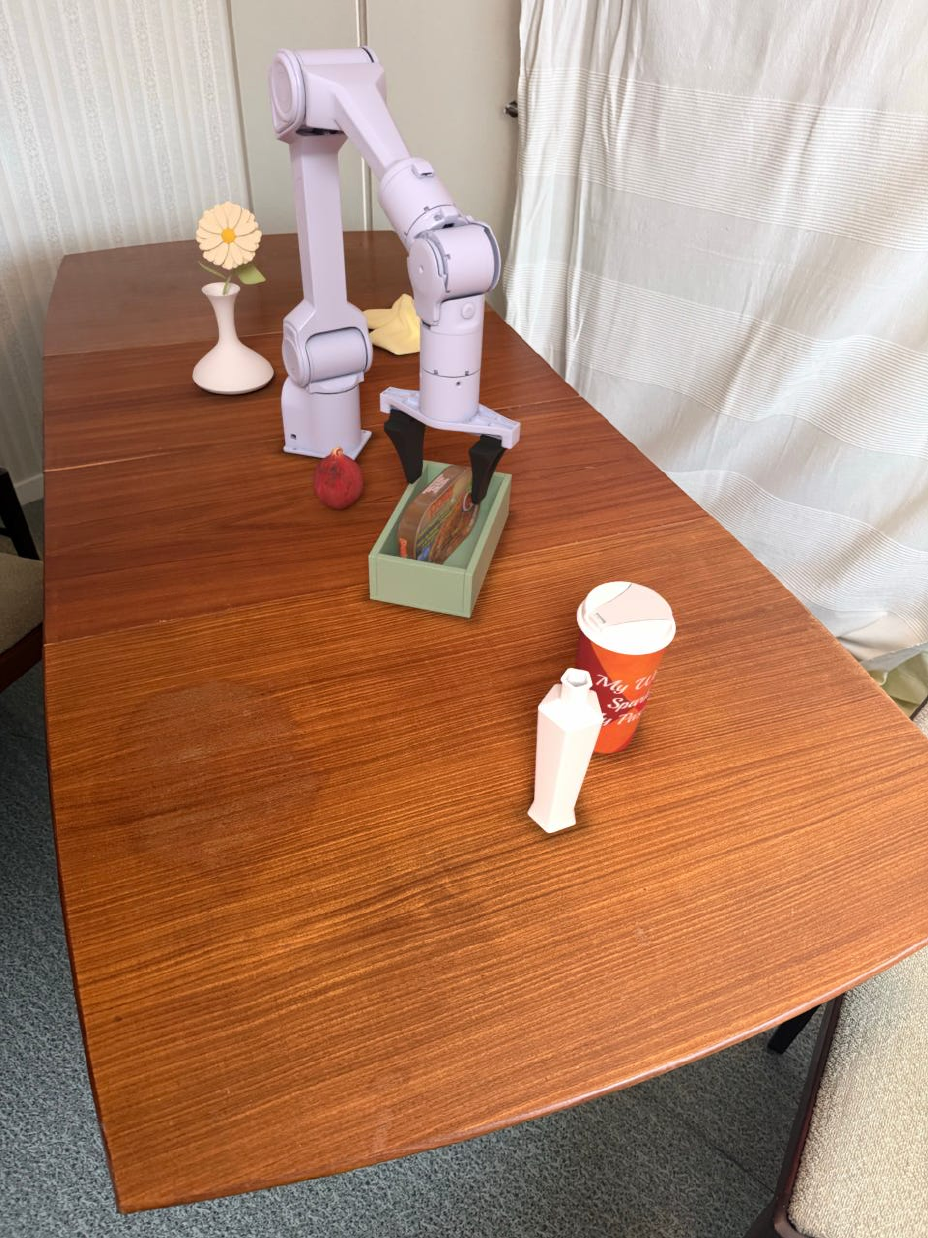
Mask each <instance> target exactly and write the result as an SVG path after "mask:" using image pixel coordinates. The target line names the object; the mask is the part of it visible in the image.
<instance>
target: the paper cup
mask: <svg viewBox="0 0 928 1238" xmlns="http://www.w3.org/2000/svg"><path fill="white" fill-rule="evenodd" d="M576 621H577V625H578V627H579V629H578V636H577V637H578V638H577V647H576V657H575V666H574V669H578V670H584V671H587V672H589V674H590V677H591V681H592V686H591V687H590V688H589V690H593V691H595V692H596V694H597V698H598V701H599V705H600V708H601V712H602V715H603V723H602V726H601V729H600V732H599V735H598V738H597V741H596V744H595V747H594V750H593V752H595V753H597V754H598V753H599V754H613V753H615V754H616V753H618V752H620V751H623V750H624V749H626V748H627V747H628V746H629V745H630V743H631V742H632V741H633V738H634V736H635V733H636V731H637V728H638V726H639V723H640V720H641V717H642V715H643V712H644V710H645V707H646V703H647V701H648V698H649V695H650V693H651V690H652V687H653V684H654V681H655V679H656V676H657V673H658V670H659V667H660V665H661V662H662V659H663V656H664V653H665V652H666V649H667V646H668V645H669V644H670V643H672V641H673V639H674V637H675V634H676V628H677V627H676V621H675V619H674V616H673V611H672V607H671V606H670V604H669V603H668V601H667V600H666V599H665V598H664V597H663V596H662V595H660V594H659V593H658V592H657V591H655V590H654V589H652V588H649V587H648V586H645V585H641V584H638V583H635V582H630V581H611V582H606V583H602V584H600V585H598V586H596V587H594V588H593V589H592V590H591V591H589V593H588V594H587V595H586V597H585V598H584V600H582V602H581V603H580V604H579V606H578V608H577V611H576Z"/></svg>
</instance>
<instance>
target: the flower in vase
mask: <svg viewBox="0 0 928 1238" xmlns="http://www.w3.org/2000/svg"><path fill="white" fill-rule="evenodd" d="M202 215H203V216H202V218H200V219H199V221H198V229H196V231H195V234H196V236H195V240H196V242H198V243H199V246H198V247H199V250H200V251H203V253H202V257H203V258H204V260H206V261H208V262H209V263H213V264H214V265H215V266H221V267H222V268H223V269H226V270H229V271H230V270H231V272H230V274H229V276H228V277H225V276H224V275H223V274H222V273H220V272H219V271H217V270H216V269H213V268H211V267H209V266H206V265H204V264H202V263H201V262H200V261H199V260H197V261H198V264H199V265H200V266H201V267H202V268H203V269H204V270H207V271H208V272H210V273H212V274H214V275H216V276H218V277H221V278H223V279H224V280H226V281H218V282H211V283H208V284H205V285H203V287H202V288H201V292H202V293H203V294H204V295H205V296H206V297H207V298H208V300H209V302H210V304H211V305H212V309H213V310H214V315H215V318H216V323H217V327H218V340H217V343H216V345H215V346H214V347H213V348H212V349H211V350H209V352H207V353H206V354H205V355H204V356H203V357H202V358H201V359H199V361H198V362H197V363H196V364H195V366H194V368H193V371H192V377H191V378H192V380H193V381H194V383H196V385H197V386H198V387H199V388H201V389H202V390H204V391H207V392H210V393H212V394H213V393H214V394H220V395H242V394H246V393H251V392H254V391H257V390H259V389H262V388H264V387H265V386H267V385H268V384H269V383H270V382H271V380H272V378H273V376H274V373H275V372H274V368H273V367H272V365H271V363H270V361H268V359H266V358H265V357H263V356H262V354H259V353H258V352H256V351H255V350H253V349H251V348H249V347H248V346H246V345H245V344H243V343H242V342H241V341H240V339H239V338H238V335H237V331H236V326H235V311H234V310H235V302H236V298H237V296H238V295H239V292H240V291H241V287H240V286H239V285H238V284H236V283H233V282H231V280H232V278H233V276H234V274H236V275H237V277H238V278H239V280H240V281H241V282H242V283H243V284H244V285H254V284H258V283H262V282H265V281H266V278H265V277H264V276H263V274H262V273H261V272H260V271H259V270H258V268H257V267H256V266H254V264H252V263H249V262H251V261H253V259H254V257H256V252H255V251H256V250H257V249H259V247H260V242H261V238H262V236H263V235H262V231H261V230H260V229H259V230H258V228H259V223H258V222H257V221H255V220H256V216H255V214H254V213H253V212H251V211H250V210H249V209H245V208H244V207H242V206H240V205H239V204H235V203H232V202H230V201H225V202H224V203H222V204H218V203H217V204H215V205H214V206H213V208H210V209H209V210H208V209H206V210H204V211H203V213H202Z"/></svg>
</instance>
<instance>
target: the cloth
mask: <svg viewBox="0 0 928 1238" xmlns="http://www.w3.org/2000/svg"><path fill="white" fill-rule="evenodd" d="M362 313H363V314H364V315H365V317H366V318H367V325H368V330H372V331H370V332H369V336H370V339H371V342H372V346H375V347H377V348H380V349H383V350H386V351H388V352H390V353H393V354H394V355H397V356H403V355H408V354H414V353H420V317H418V316H417V315H416V310H415V308H414V298H413V296H411V295H409V294H407V293H402V294H401V296H400V297H399V298H398V299H397V300H395V301H394V303H393V304H392V306H391V308H371V309H366V310H364V311H362Z"/></svg>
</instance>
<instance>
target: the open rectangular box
mask: <svg viewBox="0 0 928 1238" xmlns="http://www.w3.org/2000/svg"><path fill="white" fill-rule="evenodd" d="M451 465H452V464H450V463H444V462H438V461H432V460H426V459H423V470H422V476H421V477H420V478H419V479H418V480H416V481H415V482H414V483H413V484H410V483H408V485H407V487H406V489H405V491H404V493H403V495H402V496H401V498H400V500H399V501H398V503H397V505H396V506H395V508H394V511H393V512H392V514H391V515H390V518H389V519H388V521H387V523H386V524H385V526H384V528H383V530H382V531H381V533H380V535H379V537H378V538H377V540H376V542H375V543H374V545H373V547H372V549H371V550H370V552H369V554H368V557H367V559H368V578H369V579H368V583H369V599H370V600H375V601H378V602H384V603H390V604H395V605H399V606H405V607H410V608H415V609H420V610H425V611H432V612H435V613H442V614H447V615H450V616H457V617H461V618H466V619H467V618H468V619H470V618H471V616H472V613H473V611H474V607H475V605H476V603H477V600H478V598H479V594H480V592H481V589H482V586H483V584H484V581H485V578H486V576H487V574H488V570H489V568H490V565H491V562H492V560H493V557H494V554H495V552H496V550H497V546H498V543H499V541H500V538H501V536H502V532H503V530H504V528H505V525H506V522H507V520H508V517H509V515H510V514H509V513H510V512H509V511H510V501H511V491H512V480H513V479H512V478H513V474H510V473H505V472H499V471H494V473H493V476H492V478H491V481H490V484H489V487H488V491H487V495H486V497H485V498H484V499H483V500H482V501H481V505H480V510H479V514H478V517H477V520H476V522H475V525H474V527H473V529H472V530H471V532H470V534H469V535H468V536H467V537H466V539H465V540H464V541H463V542H462V543H461V544H460V545H459V546H458V547H457V548H456V549H455V551H454V552H453V553H452V554H451V555H450V556H449V557H448V558H447V559H446V561H445V562H444V563H443V564H442V565H440V564H434V563H429V562H423V561H418V560H413V559H407V558H402V557H398V549H397V531H398V527H399V523H400V520H401V517H402V515H403V513H404V511H405V509H406V507H407V506H408V504H409V503H410V502H411V501H412V500H413V499H414V498H415V497H416V496H417V495H418V494H419V493H420V492H421V491H422V490H423V489H424V488H425V487H426V486H427V485H428V484H429V483H430V482H432V481H433V480H434V479H435V478H436V477H437V476H438V475H439V474H440V473H441V472H442V471H443V470H444V469H445V468H447V467H449V466H451ZM463 467H465V466H464V465H463ZM466 467H467V468H471V466H470V467H469V466H466Z"/></svg>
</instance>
